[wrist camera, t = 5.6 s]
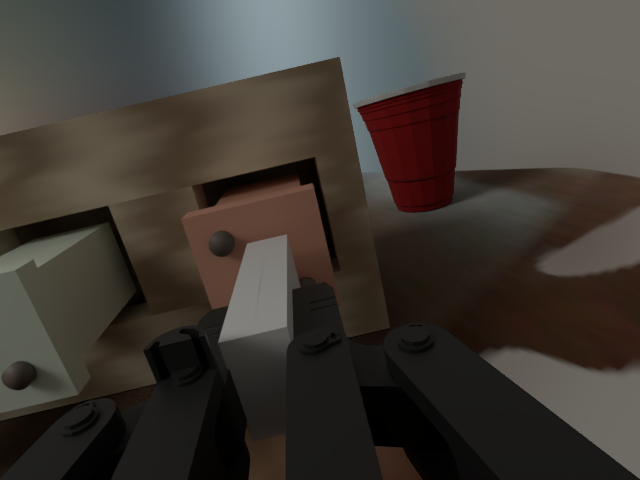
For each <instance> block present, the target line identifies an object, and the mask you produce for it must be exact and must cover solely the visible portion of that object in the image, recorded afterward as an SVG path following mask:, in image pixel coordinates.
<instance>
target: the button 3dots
mask: <svg viewBox="0 0 640 480" xmlns="http://www.w3.org/2000/svg"><path fill="white" fill-rule="evenodd" d="M181 221H182V224H183V226H184V229H185V232H186V235H187V238H188V241H189V244H190V247H191V249H192V252H193V255H194V258H195V261H196V264H197V267H198V270H199V273H200V275H201V278H202V281H203V284H204V287H205V290H206V293H207V296H208V299H209V301H210V304H211V307H212V310H213V309H217V308H221V307H225V306H229V303H230V300H231V297H232V293H233V290H234V286H235V283H236V280H237V276H238V273H239V269H240V266H241V263H242V259H243V256H244V252H245V249H246V246H247V243H252V242H256V241H260V240H265V239H269V238H273V237H277V236H282V235H286V234H287V236H288V240H289V244H290V248H291V252H292V256H293V259H294V263H295V267H296V271H297V275H298V279H299V283H300V286H301V287H305V286H309V285H313V284H318V283H322V282H326V283H327V284H329V285H330V286H332V287H333V289H334V292H335V296H336V300H337V304H338V307H341V304H340V299H339V295H338V291H337V286H336V282H335V277H334V273H333V269H332V264H331V260H330V256H329V251H328V247H327V242H326V238H325V234H324V229H323V225H322V220H321V216H320V212H319V207H318V203H317V199H316V194H315V190H314V186H313V184H312V183H311V184H307V185H303V186H301V184H300V180H299V176H298V172H295V173H290V174H286V175H282V176H278V177H273V178H269V179H265V180H261V181H256V182H252V183H248V184H244V185H239V186H235V187H231V188H228V189H227V190H226V191H225V193H224V194H223V196H222V197H221V198H220V200H219V201H218V203H217V204H216V205H215V206H213V207H209V208H205V209H201V210H196V211H192V212H188V213H187V214H186V215H185V216H184V217H183V218H182V219H181Z"/></svg>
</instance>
